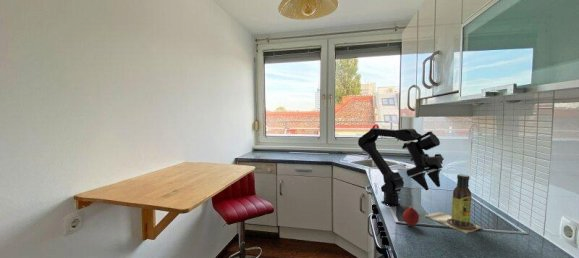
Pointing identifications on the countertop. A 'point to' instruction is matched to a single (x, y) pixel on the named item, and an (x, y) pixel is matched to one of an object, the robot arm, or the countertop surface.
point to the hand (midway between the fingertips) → (433, 188)
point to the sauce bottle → (461, 202)
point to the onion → (410, 216)
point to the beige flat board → (446, 220)
